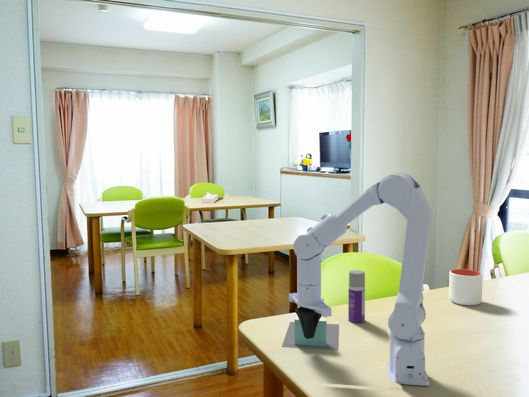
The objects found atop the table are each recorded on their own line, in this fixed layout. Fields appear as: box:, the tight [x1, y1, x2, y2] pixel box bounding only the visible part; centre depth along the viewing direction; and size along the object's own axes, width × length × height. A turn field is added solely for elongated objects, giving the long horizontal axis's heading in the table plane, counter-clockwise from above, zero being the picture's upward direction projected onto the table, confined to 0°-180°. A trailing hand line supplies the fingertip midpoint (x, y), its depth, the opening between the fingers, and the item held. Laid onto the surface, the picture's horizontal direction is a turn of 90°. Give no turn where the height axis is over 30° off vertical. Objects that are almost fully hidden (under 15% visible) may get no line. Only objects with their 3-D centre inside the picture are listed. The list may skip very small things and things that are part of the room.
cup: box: [448, 268, 484, 307], centre depth 151 cm, size 10×10×10 cm
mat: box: [281, 321, 340, 351], centre depth 122 cm, size 18×14×1 cm
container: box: [347, 269, 366, 324], centre depth 132 cm, size 5×5×15 cm
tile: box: [293, 316, 328, 346], centre depth 116 cm, size 2×8×6 cm, turn 80°
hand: (309, 337), depth 111 cm, fingers closed
